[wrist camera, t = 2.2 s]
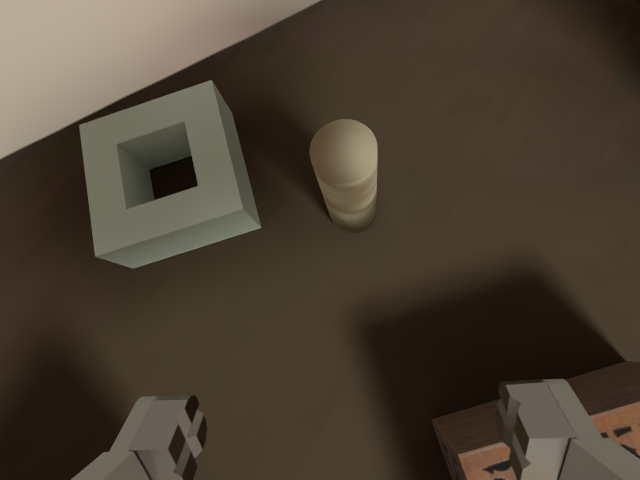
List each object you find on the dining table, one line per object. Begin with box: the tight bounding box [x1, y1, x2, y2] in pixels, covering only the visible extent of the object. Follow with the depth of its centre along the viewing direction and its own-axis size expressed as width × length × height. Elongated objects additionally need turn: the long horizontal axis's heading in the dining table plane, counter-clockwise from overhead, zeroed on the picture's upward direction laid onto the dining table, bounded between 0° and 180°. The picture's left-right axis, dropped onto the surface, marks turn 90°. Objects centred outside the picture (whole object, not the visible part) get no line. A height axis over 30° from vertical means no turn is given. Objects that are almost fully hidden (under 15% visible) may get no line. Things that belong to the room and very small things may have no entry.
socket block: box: [79, 80, 261, 269], centre depth 34 cm, size 12×12×5 cm
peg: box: [309, 119, 377, 233], centre depth 29 cm, size 4×4×11 cm
